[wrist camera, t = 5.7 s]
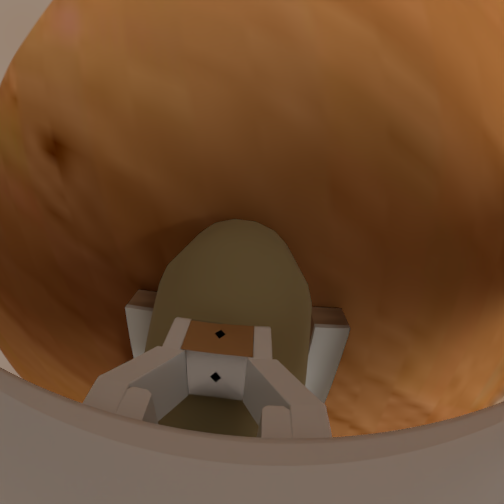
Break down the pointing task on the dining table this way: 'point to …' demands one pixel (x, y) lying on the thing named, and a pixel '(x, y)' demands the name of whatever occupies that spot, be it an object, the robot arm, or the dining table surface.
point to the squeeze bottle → (234, 309)
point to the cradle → (320, 344)
